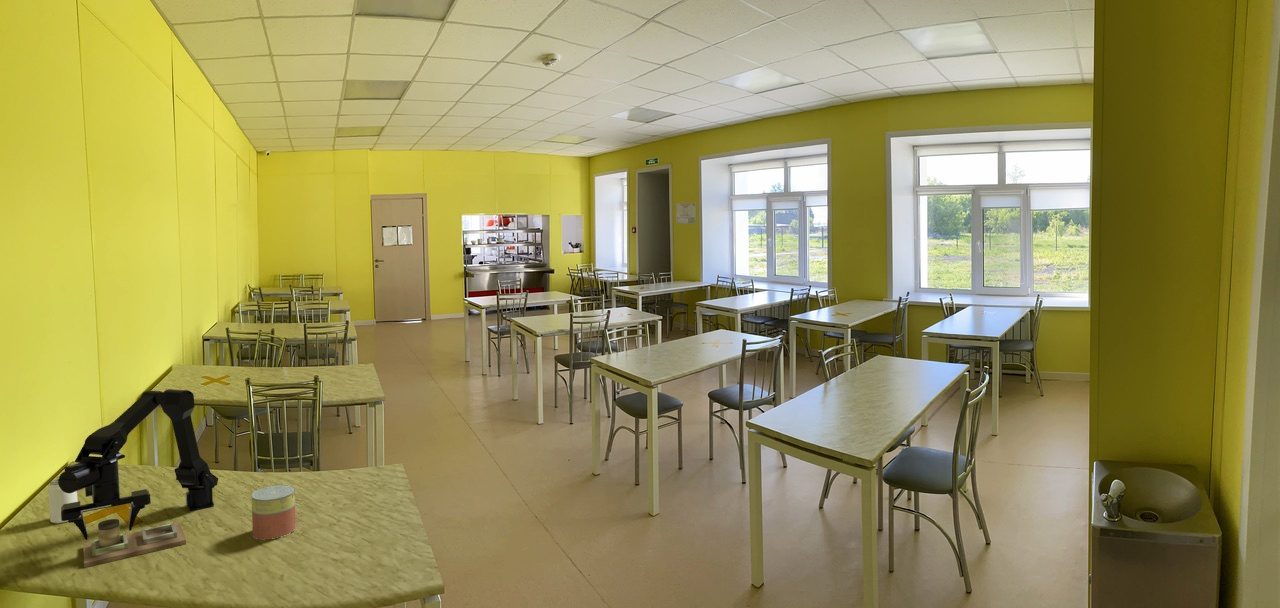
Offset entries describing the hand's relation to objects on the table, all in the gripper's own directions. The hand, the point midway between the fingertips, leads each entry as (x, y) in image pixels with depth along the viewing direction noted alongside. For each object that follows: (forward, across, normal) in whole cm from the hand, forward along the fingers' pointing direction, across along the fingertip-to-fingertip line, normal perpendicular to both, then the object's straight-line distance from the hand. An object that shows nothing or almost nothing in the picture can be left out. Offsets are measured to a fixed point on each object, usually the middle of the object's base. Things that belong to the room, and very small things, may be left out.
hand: (108, 534), depth 182 cm
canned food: (+5, -38, +13) cm, 40 cm away
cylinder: (+4, 0, 0) cm, 4 cm away
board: (+5, -6, 0) cm, 7 cm away
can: (+5, +9, -33) cm, 35 cm away
